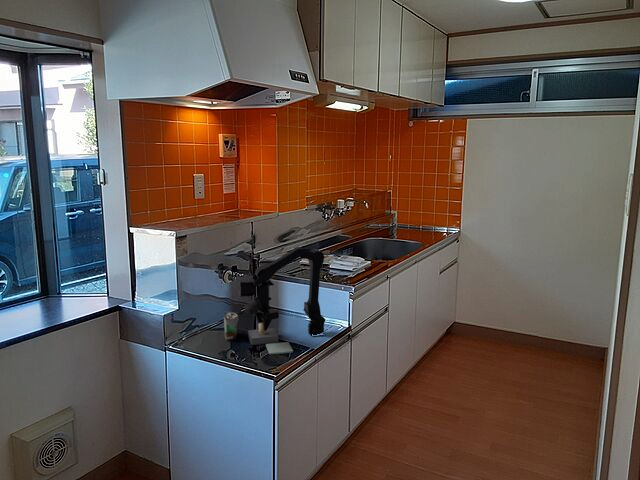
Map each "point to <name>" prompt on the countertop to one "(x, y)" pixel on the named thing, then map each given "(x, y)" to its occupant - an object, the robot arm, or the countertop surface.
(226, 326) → the food container
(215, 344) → the countertop surface
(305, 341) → the countertop surface
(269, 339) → the grey square frame
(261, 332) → the plug
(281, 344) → the mat
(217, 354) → the countertop surface
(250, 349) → the countertop surface
